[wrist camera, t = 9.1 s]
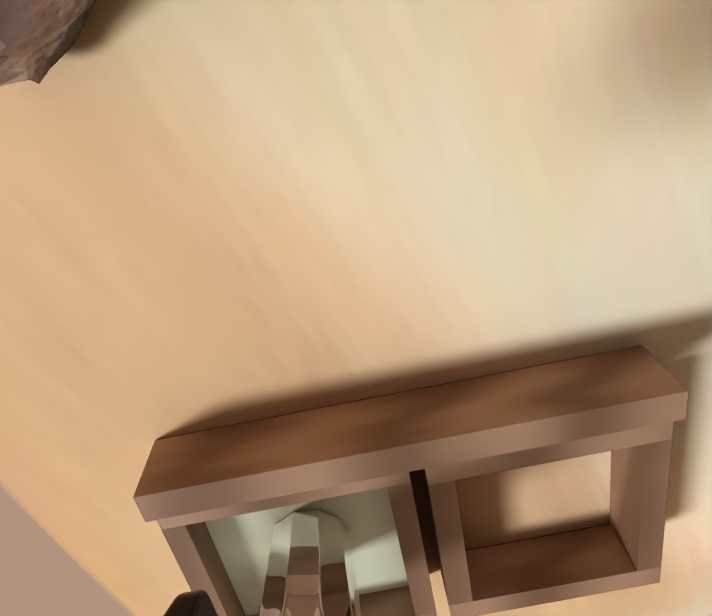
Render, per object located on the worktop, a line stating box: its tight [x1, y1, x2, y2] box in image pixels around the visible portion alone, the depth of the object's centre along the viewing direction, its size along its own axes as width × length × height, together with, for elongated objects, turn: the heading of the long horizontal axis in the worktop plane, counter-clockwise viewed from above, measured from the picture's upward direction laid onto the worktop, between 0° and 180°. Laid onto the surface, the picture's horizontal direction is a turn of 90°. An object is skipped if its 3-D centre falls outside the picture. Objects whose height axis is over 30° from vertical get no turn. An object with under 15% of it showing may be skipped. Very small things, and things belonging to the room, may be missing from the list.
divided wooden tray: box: [133, 346, 688, 616], centre depth 23 cm, size 19×11×3 cm, turn 101°
